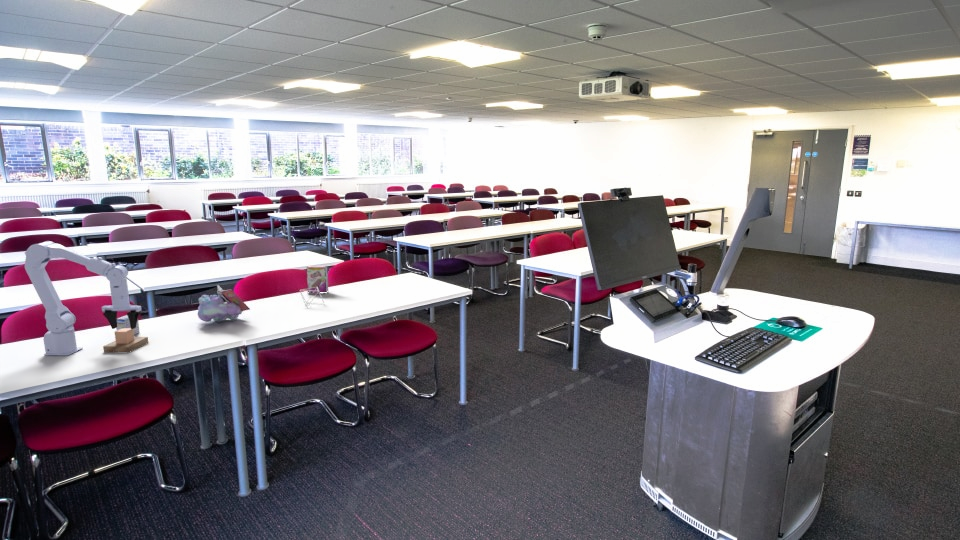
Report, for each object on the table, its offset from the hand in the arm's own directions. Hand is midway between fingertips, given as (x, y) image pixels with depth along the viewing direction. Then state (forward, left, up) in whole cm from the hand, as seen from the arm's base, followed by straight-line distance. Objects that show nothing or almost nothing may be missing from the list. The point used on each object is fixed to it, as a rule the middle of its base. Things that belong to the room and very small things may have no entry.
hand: (124, 328), depth 206 cm
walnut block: (0, 0, -9) cm, 9 cm away
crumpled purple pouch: (+23, +35, -8) cm, 43 cm away
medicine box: (-9, +15, -8) cm, 19 cm away
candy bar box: (+50, +95, -8) cm, 108 cm away
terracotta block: (0, 0, -6) cm, 6 cm away
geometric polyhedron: (+55, +68, -9) cm, 88 cm away
